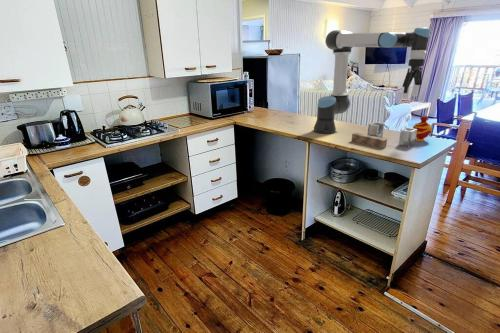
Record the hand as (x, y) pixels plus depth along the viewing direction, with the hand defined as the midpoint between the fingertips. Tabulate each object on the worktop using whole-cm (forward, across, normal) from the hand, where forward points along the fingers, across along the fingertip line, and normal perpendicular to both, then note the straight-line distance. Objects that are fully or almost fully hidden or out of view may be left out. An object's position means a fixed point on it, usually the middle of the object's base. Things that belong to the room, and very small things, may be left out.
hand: (409, 97), depth 169 cm
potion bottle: (+27, +12, -6) cm, 30 cm away
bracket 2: (+27, -2, -4) cm, 27 cm away
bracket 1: (+27, -2, +16) cm, 31 cm away
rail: (+27, -18, +12) cm, 35 cm away
